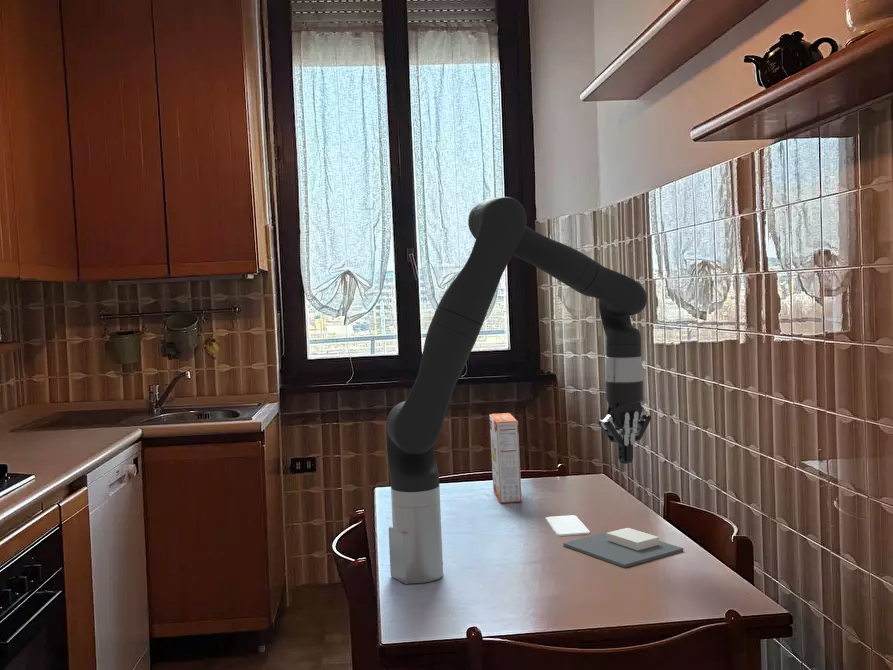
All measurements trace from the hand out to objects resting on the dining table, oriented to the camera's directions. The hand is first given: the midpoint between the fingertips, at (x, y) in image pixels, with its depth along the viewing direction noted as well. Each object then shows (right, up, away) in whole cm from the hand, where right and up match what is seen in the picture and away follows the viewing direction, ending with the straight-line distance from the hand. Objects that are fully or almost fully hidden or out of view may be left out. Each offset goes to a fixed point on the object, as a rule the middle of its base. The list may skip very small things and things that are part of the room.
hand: (626, 462), depth 176 cm
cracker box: (-21, -16, +47) cm, 54 cm away
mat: (-1, -17, -1) cm, 17 cm away
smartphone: (-10, -17, +18) cm, 26 cm away
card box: (-1, -16, -1) cm, 16 cm away
